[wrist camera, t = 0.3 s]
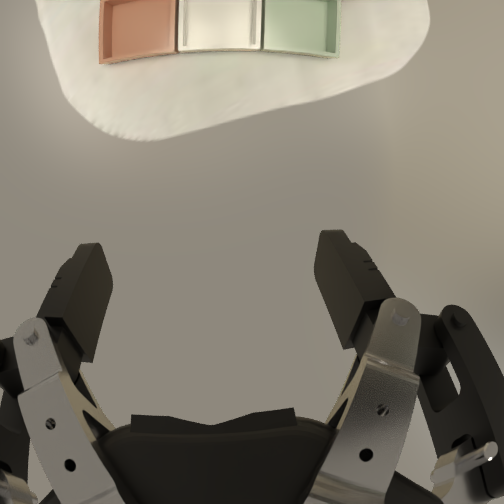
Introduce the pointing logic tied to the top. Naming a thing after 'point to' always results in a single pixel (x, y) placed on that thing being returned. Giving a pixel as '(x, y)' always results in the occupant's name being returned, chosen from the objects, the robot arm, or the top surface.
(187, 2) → the white square tray
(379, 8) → the top surface
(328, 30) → the mint green square tray
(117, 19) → the terracotta square tray
